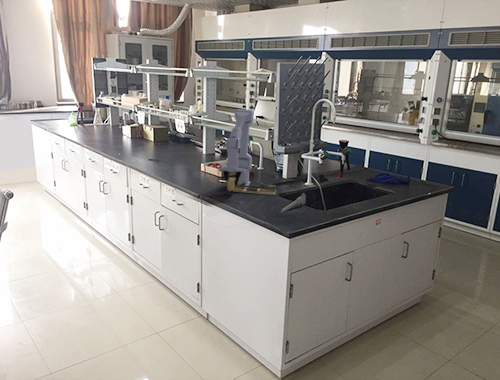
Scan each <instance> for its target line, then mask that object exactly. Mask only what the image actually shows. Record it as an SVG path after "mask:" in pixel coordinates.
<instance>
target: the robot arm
mask: <svg viewBox="0 0 500 380" xmlns="http://www.w3.org/2000/svg"><path fill="white" fill-rule="evenodd" d="M254 114H255V113H254V110H253V109H242V108H236V109H235V111H234V119H235V121H236V122H235V124H234V125H235V126H234V127H233V128H232V129H231V132H230V135H229V137H228V138H226V142H225V146H226V152H227V164H226V165H227V166H226V167H225V166H224V167H223V166H221V167H219V168H218V172H221V173H222V172H223V177H224V178H225V182H226V183H227V180H228V179H229V178H230V173H235V178H236V183H235V186H237V184H238V183H243V181H244V182H245V187H248V185H250V184H251V181H250V170H252V168H253V158H252V155H251V154H250V153H248V152H249V138H250V137H249V136H250V128H251V127H250V126H251V125H253V123H254V117H255V115H254Z"/></svg>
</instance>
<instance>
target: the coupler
mask: <svg viewBox="0 0 500 380" xmlns="http://www.w3.org/2000/svg"><path fill="white" fill-rule="evenodd" d="M235 183H236V177H230V176H229V179H228V180H227V182H226V185H227V186H226V190H227V191H228V190H235V189H236V187H237V186H235Z"/></svg>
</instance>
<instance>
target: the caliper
mask: <svg viewBox="0 0 500 380" xmlns="http://www.w3.org/2000/svg"><path fill="white" fill-rule="evenodd" d="M306 200H307V199H306V194H305V192H302V193H301V195H300V196H298V198H296V200H294V201H293V202H291V203H290V204H287V205H286V206H285V207H283V208H282V209H281V211H280V213H281V214H282V213H284V212H287V211H288V210H290V209H291V208H292V207H294V206H295V205H299V204H300V205H302V206H304V205H305V204H306Z"/></svg>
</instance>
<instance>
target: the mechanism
mask: <svg viewBox="0 0 500 380" xmlns="http://www.w3.org/2000/svg"><path fill="white" fill-rule="evenodd" d="M259 185H260V188H259ZM259 185H253V184H252V185H250V184H249V185H248V186H247V187H246V186H245V182H244V181H243V183H238V184H237V187H236V189H235V190H227V191H228V192H231V191H233V193H247V194H258V195H273V196H276V192H277V185H275V184H264V183H263V182H260V184H259Z"/></svg>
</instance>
